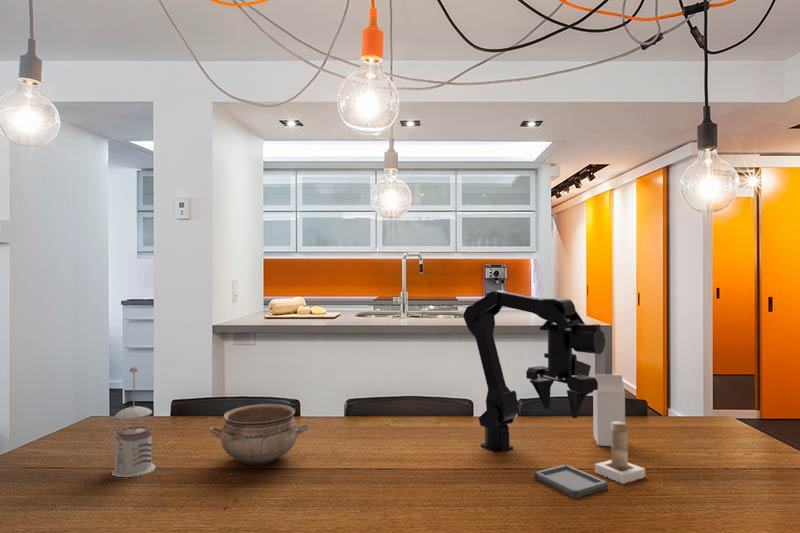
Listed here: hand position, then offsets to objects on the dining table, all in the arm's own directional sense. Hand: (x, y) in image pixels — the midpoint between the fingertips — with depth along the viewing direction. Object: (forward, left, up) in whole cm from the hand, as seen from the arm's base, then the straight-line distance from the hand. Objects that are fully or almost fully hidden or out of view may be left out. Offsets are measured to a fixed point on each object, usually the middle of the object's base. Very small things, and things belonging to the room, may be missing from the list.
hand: (560, 413), depth 126 cm
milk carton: (-7, +25, -13) cm, 29 cm away
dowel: (+10, +8, -13) cm, 19 cm away
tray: (+8, -6, -13) cm, 17 cm away
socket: (+10, +8, -13) cm, 19 cm away
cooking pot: (-40, -64, -13) cm, 76 cm away
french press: (-48, -93, -13) cm, 105 cm away
